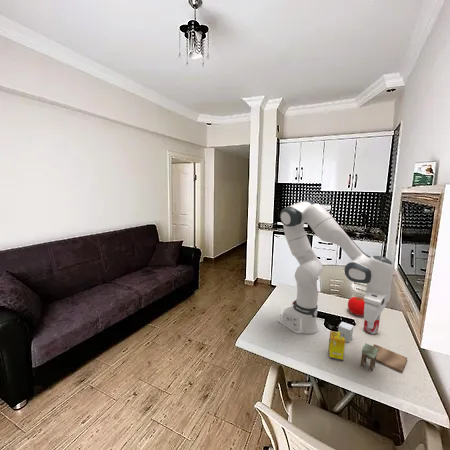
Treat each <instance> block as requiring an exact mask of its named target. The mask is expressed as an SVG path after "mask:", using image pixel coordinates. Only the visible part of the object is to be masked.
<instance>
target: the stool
mask: <svg viewBox="0 0 450 450" xmlns="http://www.w3.org/2000/svg"><path fill="white" fill-rule="evenodd" d="M377 352H378V348H376V347H374V346H373V345H371V344H368V343H364V345H363V347H362V349H361V357H360V367H362V368H364V366H365V364H366V363H367V362H368V361H367V359H368V358H367V356H369V357H371V359H369V360H370V362H369V368H368V370H369V371H370V372H373V370H374V368H375V367H376V363H377V362H376V356H377Z"/></svg>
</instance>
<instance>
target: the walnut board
mask: <svg viewBox="0 0 450 450" xmlns="http://www.w3.org/2000/svg"><path fill="white" fill-rule="evenodd" d="M372 346H374V347H376V348H378V352H377V356H376V363H378V364H380V365H382V366H385V367H388V368H389V369H391V370H393V371H396V372H398V373H400V374H403V372H404V369H405V366H406V364H407V361H408V357H406V356H404V355H401V354H400V353H396V352H395V351H393V350H392V351H391V350H390V349H387V348H385V347H382V346H380V345H377V344H375V343H374V344H373V345H372ZM367 359H369V360H371V357H369V356H367Z"/></svg>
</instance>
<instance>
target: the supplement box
mask: <svg viewBox="0 0 450 450" xmlns="http://www.w3.org/2000/svg"><path fill="white" fill-rule="evenodd" d="M328 340H329V341H328V349H327V350H328V357H329V359H330V360H336V361H340V362H344V355H345V353H344V352H345V346H346V341H345V339H344V334H343V333H339V332H338V331H334V330H333V331H332V330H330V332H329V339H328Z"/></svg>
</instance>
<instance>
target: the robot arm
mask: <svg viewBox="0 0 450 450" xmlns="http://www.w3.org/2000/svg"><path fill="white" fill-rule="evenodd" d="M279 218H280V221H281V223H282V224H283V227H282V228H283V232H284V236H285V239H286V241H287V245H288V247H289V250H290V253H291V255H292V256H293V257H294V258H295V259H296V260H297V262H298V264H299V266H298V267H296V271H295V273H294V278H295V281H296V289H297V291H296V299H295V300H294V301H293V302H292V303H291V306H289V307H287V308H286V309H284V310H283V311H282V314H280V315H279V316H278V318H277V323H279V322H280V323H279V324H281V325H283V326H284V327H285V328H287V329H289V330H290V331H292V332H293V333H295V334H298V335H300V334H306V335H313V334H315V333H317V332H318V330H319V328H318V324H317V316H318V309H319V307H318V298H319V291H318V279H319V277H320V276H321V274H322V273H323V263H322V261H321V260H319V258H318V257H317V255H316V253H315V251H314V250H313V248H312V246H311V243H310V240H309V239H308V235H307V233H306V231H305V227H304V225H305V223H306V224H308V225H309V227H310V229H311V230H312V232H314V234H315V235H316V236H317V237H318V238H319V239H320V240H321V241H322V242H327V243H331V244H335V245H337V246H339V247H340V248H341V250H342V251H344V252H345V254H346V255H347V256H348V257H349V258H350V260H351V261H350V262H348V263H347V264H346V265H345V266H344V275H345V277H346V278H347V279H348V280H349V281H351V282H353V283H359V284H366V289H365V294H364V296H363V299H364V302H365V305H364V315H363V320H366V321H368V327H369V328H371V329H373V327H374V322H375V320H379V319H380V318H381V314H382V313H383V311H384V310H385V308H386V305H387V303H388V302H390V299H391V298H390V297H391V292H392V287H391V285H392V281H393V275H394V264H393V262H392V261H391V260H390V259H388V258H387V257H384V256H380V255H373V256H371V255H369V254H367V253H365V252H364V251H363V250H362V249H361V248H360V247H359V246H358V244H356V242H355V241H354V240H353V239H352V238H351V237H350V236H349V235H348V234H347V233H346V231H344V230H343V228H342V227H341V226H340V225H339V223H338V222H337V221H336V220H335V218H334V217H333V216H332V214H331V213H330V212H329V211H328V210H327V209H326V208H325V207H323V206H322V204H319V203H315V202H314V201H312V200H304V201H299V202H295V203H294V204H292V205H291V204H290V205H289V206H287V207H284V208H282V210H281V211H280V214H279Z"/></svg>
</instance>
